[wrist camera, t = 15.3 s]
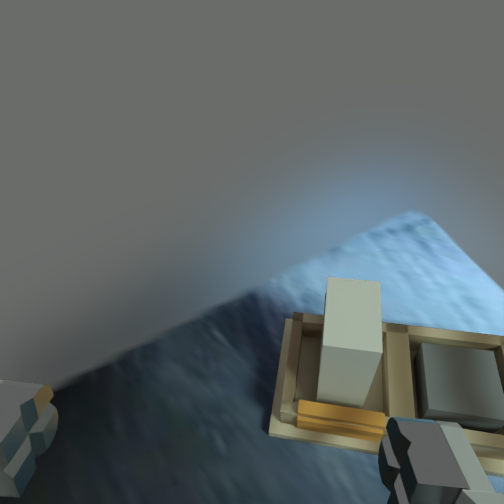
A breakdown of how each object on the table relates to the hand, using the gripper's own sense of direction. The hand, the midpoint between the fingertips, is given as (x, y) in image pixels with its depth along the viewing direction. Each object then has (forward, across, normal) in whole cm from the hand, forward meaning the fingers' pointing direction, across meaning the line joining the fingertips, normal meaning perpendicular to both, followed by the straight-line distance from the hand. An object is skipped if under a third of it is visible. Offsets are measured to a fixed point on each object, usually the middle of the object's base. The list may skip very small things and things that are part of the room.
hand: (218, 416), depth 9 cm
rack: (+21, -15, +20) cm, 32 cm away
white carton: (+22, -10, +19) cm, 30 cm away
